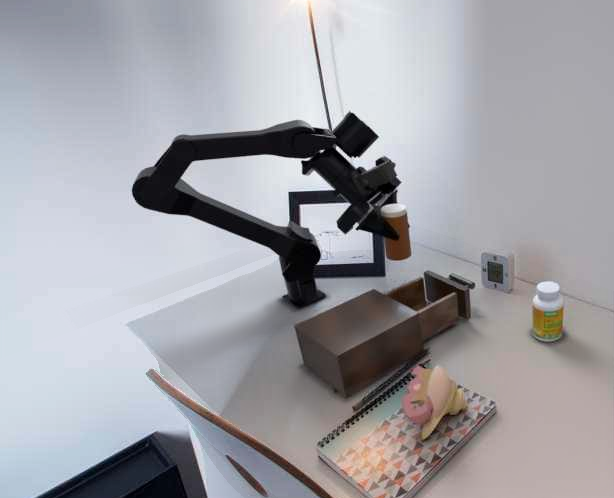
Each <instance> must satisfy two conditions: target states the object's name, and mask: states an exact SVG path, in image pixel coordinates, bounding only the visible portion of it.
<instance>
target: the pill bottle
mask: <svg viewBox="0 0 614 498" xmlns="http://www.w3.org/2000/svg"><path fill="white" fill-rule="evenodd" d="M381 215H382V217H383V218H384V219H385V220H386V221H387V222H388V223H389V224H390V226H391V227H392V228H393V229H394V230H395V231H396V232H397V234H398V235H399V236H400V238H399V239H398V240H397V241H395V240H392V239H389V238H386V237H383V244H384V251H385V258H386V259H388V260H389V261H394V262H395V261H397V262H399V261H405V260H407V259H409V258H411V256H412V246H411V245H412V244H411V237H410V228H409V226H408V223H409V219H408V218H409V217H408V211H407V206H406V205H405V204H402V203H398V204H389V205H385V206H383V207H382V208H381Z"/></svg>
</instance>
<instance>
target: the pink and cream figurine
mask: <svg viewBox="0 0 614 498" xmlns="http://www.w3.org/2000/svg"><path fill="white" fill-rule="evenodd" d="M410 376H413V377H414V378H413V379H411V380H409V381H408V384H407V387H406V392H407V393H406V394H403V395H402V397H401V403H402V409H403V410H402V411H403V412H404V415H405V418H406V419H407V420H408V421H409V422H413V423H414V424H415V425H422V424H424V425H423V427H422V431H421V440H425V439H427V438H428V437H429V436H430V435H431V434H432V433H433V431H434V430H435V428H436V426H438V424H439V423H440V421H441V420H442V418H443V417H444V416H445V415H447V414H449V415H450V416H453V415H454V416H456V415H457V414H458V413H459V412H460V410H465V409H466V408H467V407H468V405H469V403H468V401H467V400H466V399H465V395H466V394H465V391H464V390H463V389H462V388H458V386H457V382H456V380H454V381H453V379H452V378H450V377H449V375H448V373H447V372H446V371H445V369H444V368H443V367H442V366H440V365H438V364H436V366H435V367H434V368H423V367H421V366H420V364H418V365H416V367H415V368H413V370H412V371H411V372H410ZM412 404H416V405H418V406H416V407H414V408H413V405H412Z"/></svg>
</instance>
